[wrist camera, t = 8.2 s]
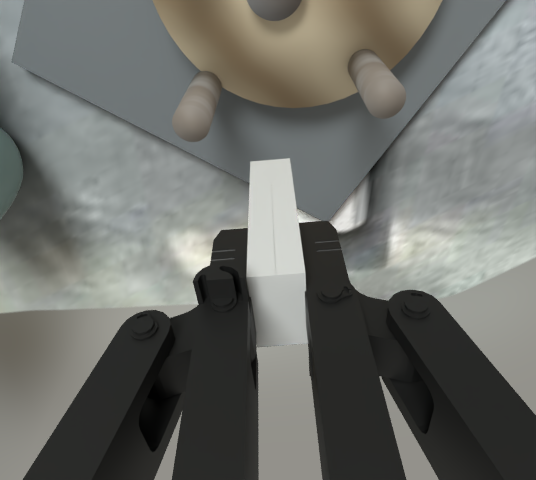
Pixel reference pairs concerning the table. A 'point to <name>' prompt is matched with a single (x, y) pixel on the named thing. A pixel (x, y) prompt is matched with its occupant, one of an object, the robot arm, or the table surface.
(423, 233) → the table surface
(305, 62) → the disc
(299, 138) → the stand
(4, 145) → the cup
